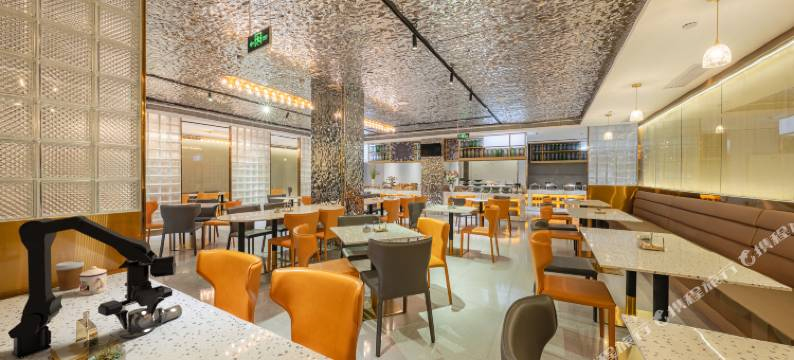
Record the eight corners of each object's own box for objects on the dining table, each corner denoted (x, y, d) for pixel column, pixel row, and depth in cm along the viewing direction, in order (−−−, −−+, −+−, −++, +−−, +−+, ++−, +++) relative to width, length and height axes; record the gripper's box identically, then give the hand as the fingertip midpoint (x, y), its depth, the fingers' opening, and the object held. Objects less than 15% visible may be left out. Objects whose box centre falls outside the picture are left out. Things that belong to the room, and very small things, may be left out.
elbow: (124, 330, 101) (124, 312, 101) (142, 323, 106) (142, 306, 106) (137, 336, 97) (138, 318, 97) (156, 329, 102) (156, 311, 102)
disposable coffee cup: (87, 287, 143) (87, 262, 143) (57, 293, 135) (57, 267, 134) (81, 283, 148) (81, 259, 148) (52, 289, 140) (52, 263, 140)
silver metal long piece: (128, 341, 96) (128, 323, 96) (114, 334, 100) (114, 318, 100) (185, 318, 112) (185, 303, 112) (171, 313, 116) (171, 299, 116)
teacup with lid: (74, 294, 134) (74, 268, 134) (100, 287, 143) (100, 262, 143) (89, 298, 130) (89, 271, 130) (115, 290, 139) (115, 265, 139)
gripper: (114, 292, 90) (114, 344, 90) (181, 274, 107) (181, 318, 107) (97, 286, 95) (97, 335, 95) (163, 270, 112) (163, 312, 112)
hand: (137, 324), depth 102 cm, fingers open, 6 cm apart
